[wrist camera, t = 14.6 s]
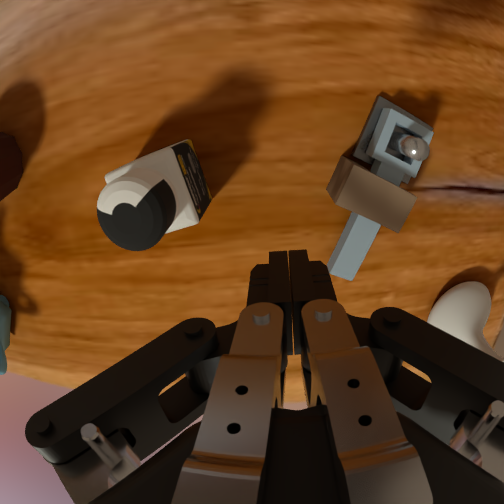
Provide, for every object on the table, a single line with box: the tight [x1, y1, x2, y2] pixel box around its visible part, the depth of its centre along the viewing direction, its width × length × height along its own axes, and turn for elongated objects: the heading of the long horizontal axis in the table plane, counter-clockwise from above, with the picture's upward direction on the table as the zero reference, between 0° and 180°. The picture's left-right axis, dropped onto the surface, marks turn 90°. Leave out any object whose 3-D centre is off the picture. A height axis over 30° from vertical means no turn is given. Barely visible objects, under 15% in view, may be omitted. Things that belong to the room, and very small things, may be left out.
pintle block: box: [351, 96, 433, 184], centre depth 26 cm, size 7×7×7 cm
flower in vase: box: [427, 281, 504, 362], centre depth 27 cm, size 13×11×25 cm
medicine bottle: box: [97, 139, 212, 251], centre depth 27 cm, size 7×7×12 cm
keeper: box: [326, 156, 417, 233], centre depth 29 cm, size 4×7×5 cm, turn 69°
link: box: [327, 108, 434, 281], centre depth 30 cm, size 18×5×2 cm, turn 162°
